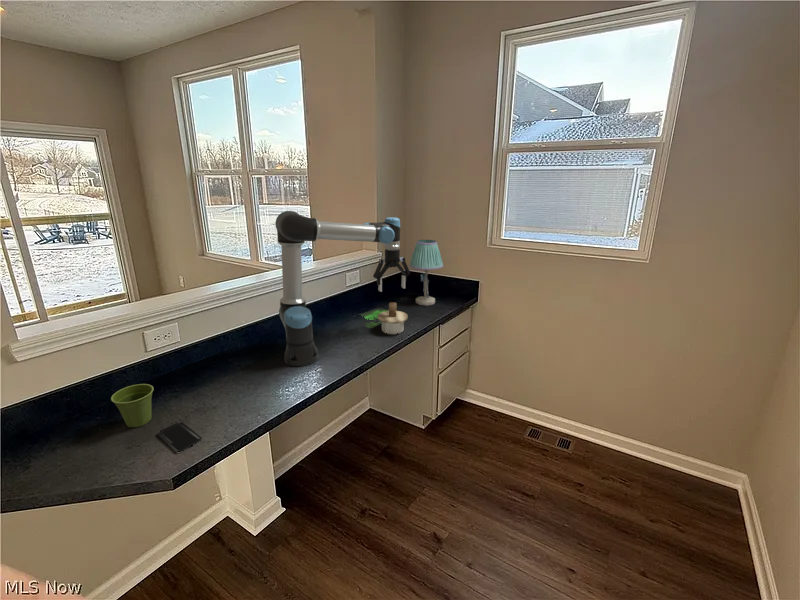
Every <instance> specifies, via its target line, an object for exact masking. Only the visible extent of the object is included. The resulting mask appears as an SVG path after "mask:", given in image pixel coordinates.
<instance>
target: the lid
mask: <svg viewBox="0 0 800 600" xmlns="http://www.w3.org/2000/svg"><path fill="white" fill-rule="evenodd" d="M408 318H409V316H408V313H406V312H404V311H400V310H397V302H392V301H390V302H389V303H388V311H385V312H382V313H380V314H378V320H379V321H381V322H384V323H390V324H396V323H402V322H404V323H405V322H406V321H407V320H408Z"/></svg>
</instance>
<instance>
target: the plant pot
mask: <svg viewBox="0 0 800 600" xmlns="http://www.w3.org/2000/svg"><path fill="white" fill-rule="evenodd" d="M154 390H155V389H154V386H153V385H151V384H150V383H149V384H148V383H139V384H132V385H129V386H125V387H124V388H123V387H122V388H121V389H119V390H116V392H115V393H113V394H112V395H111V397H110V401H111V402H112V403H114V404H115V406H116V408H117V409H118V410H119V413H120V415H121V417H122V418H123V422H124V423H125V425H126V426H127V427H128V428H138V427H139V428H140V427H143V426H145V425H146V424H148V423H149V422H150V421H151V420H152V397H153V392H154Z"/></svg>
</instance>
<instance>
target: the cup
mask: <svg viewBox="0 0 800 600" xmlns="http://www.w3.org/2000/svg"><path fill="white" fill-rule="evenodd" d="M404 328H405V321H404V322H402V323H396V324H390V323H384V322H382V325H381V331H382V332H383V333H385V334H386V333H387V335H398V334H402V333H401V332H403V331H404V330H405V329H404ZM397 333H398V334H397Z"/></svg>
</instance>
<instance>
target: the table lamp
mask: <svg viewBox="0 0 800 600" xmlns="http://www.w3.org/2000/svg"><path fill="white" fill-rule="evenodd" d="M410 258H411V259H410V263H409V264H408V266H409V267H410V268H413V269H415V270H424V272H423V273H421V274H420V282H423V289H422V291H423V294H424V295H423V296H417V297H416V298H415V304H418V305H419V306H432V305H434V304H435V303H436V298H435V297H433V296H430V295H429V282H430V280H429V279H428V275H429V271H431V270H438V269H443V267H444V264H443V259H442V255H441V252H440V247H439V246H438V242H437V240H434V239H419V240H417V241H416V244H415V247H414V249H413V253H412V254H411V257H410Z"/></svg>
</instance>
